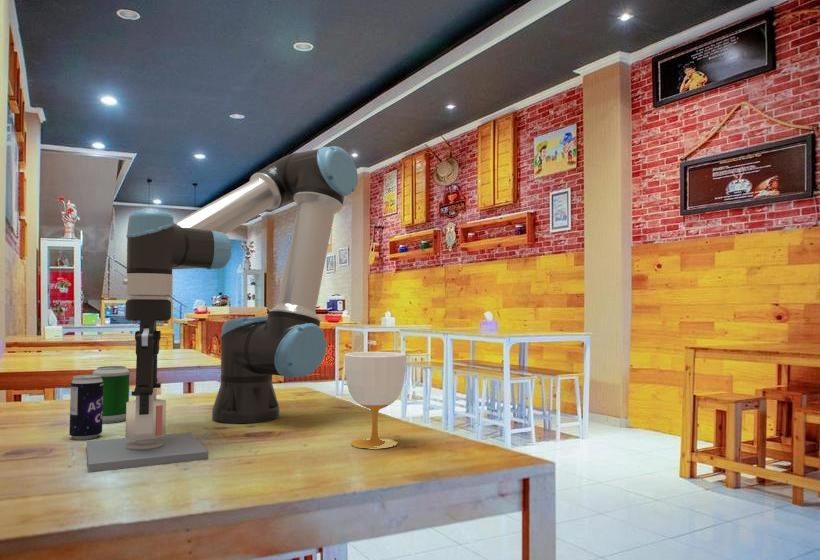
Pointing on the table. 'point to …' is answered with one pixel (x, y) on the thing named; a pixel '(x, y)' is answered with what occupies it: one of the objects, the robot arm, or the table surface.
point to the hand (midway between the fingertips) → (145, 428)
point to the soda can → (114, 392)
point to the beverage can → (86, 407)
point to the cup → (374, 384)
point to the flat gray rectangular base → (143, 451)
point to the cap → (158, 420)
